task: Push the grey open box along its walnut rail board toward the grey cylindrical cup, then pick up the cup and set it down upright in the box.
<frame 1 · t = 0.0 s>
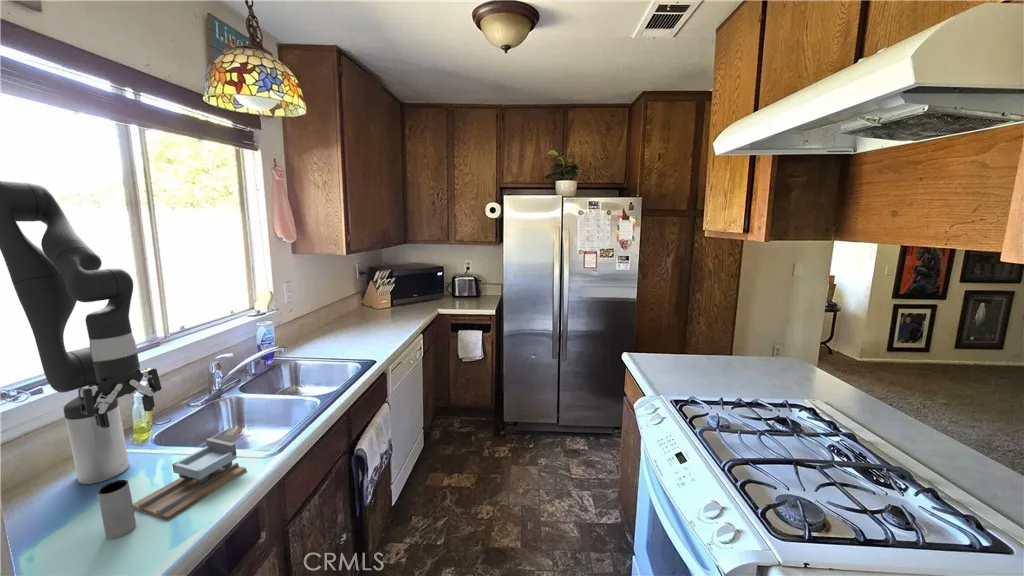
hand: (127, 418, 94), 17 cm above the countertop, tool pointing down, fingers open, 8 cm apart
grey open box: (205, 461, 98), point 5 cm above the countertop, slide at 3.5 cm
grey cylindrical cup: (121, 531, 82), on the countertop
rail board: (193, 488, 95), on the countertop
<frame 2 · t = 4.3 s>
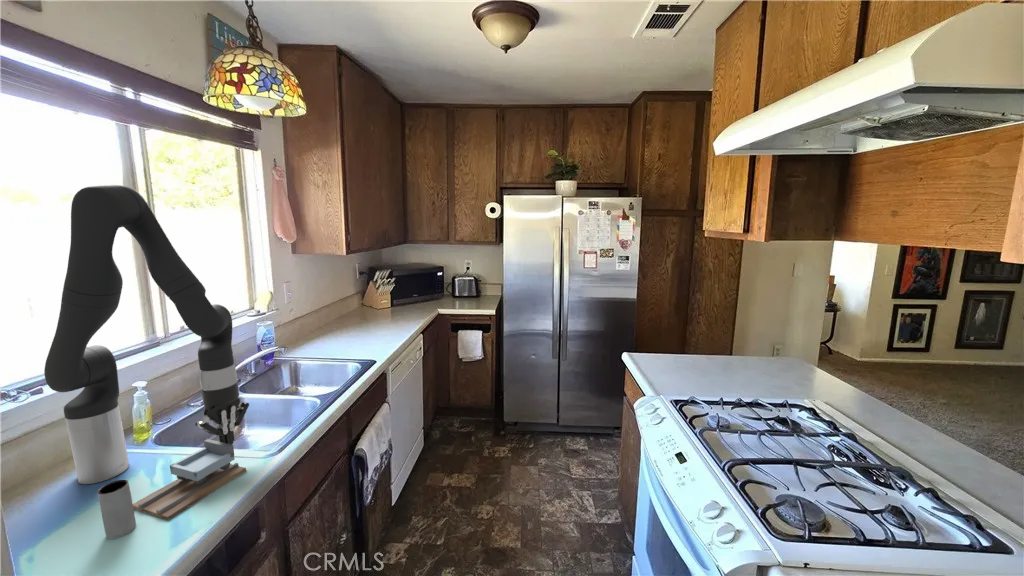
hand: (227, 444, 103), 6 cm above the countertop, tool pointing down, fingers closed
grey open box: (203, 462, 97), point 5 cm above the countertop, slide at 3.0 cm, touching gripper
everything else where it was.
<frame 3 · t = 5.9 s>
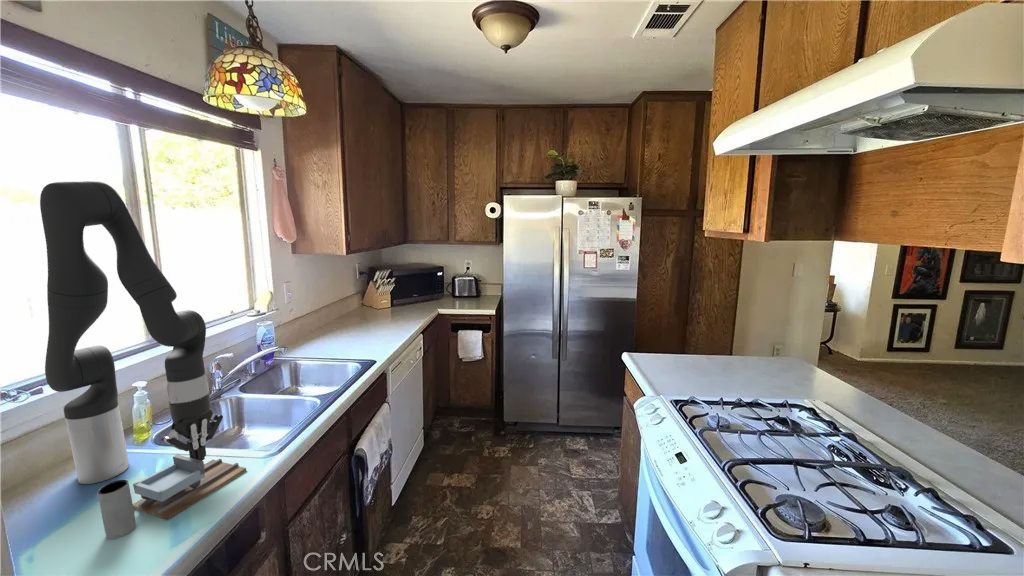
hand: (198, 460, 96), 6 cm above the countertop, tool pointing down, fingers closed
grey open box: (170, 480, 91), point 5 cm above the countertop, slide at -4.3 cm, touching gripper
everything else where it was.
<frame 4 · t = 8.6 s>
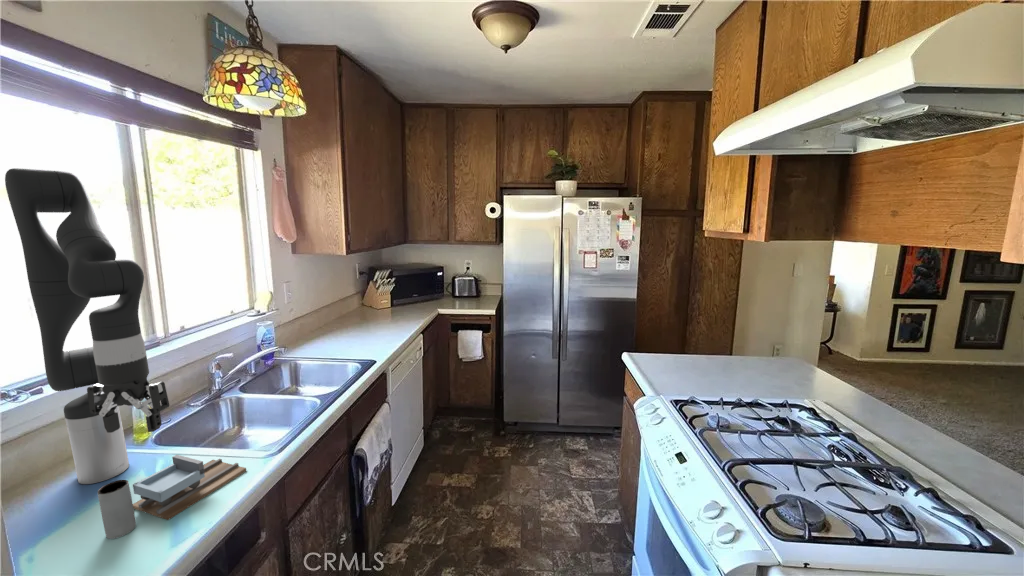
hand: (134, 430, 83), 20 cm above the countertop, tool pointing down, fingers open, 8 cm apart
grey open box: (170, 480, 90), point 5 cm above the countertop, slide at -4.4 cm
everything else where it was.
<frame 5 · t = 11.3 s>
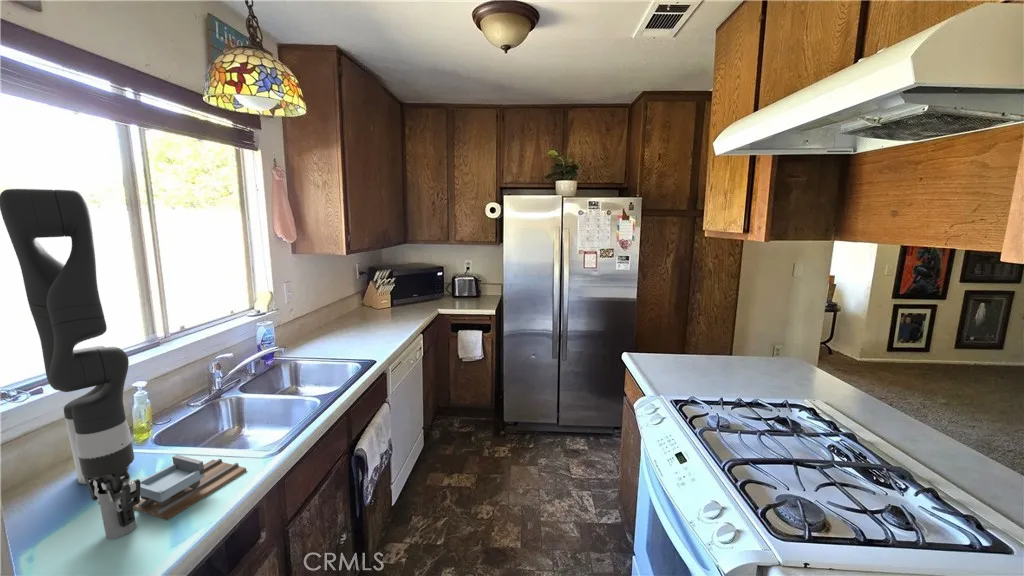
hand: (119, 520, 82), 2 cm above the countertop, tool pointing down, fingers closed on grey cylindrical cup, 4 cm apart
grey cylindrical cup: (121, 531, 82), on the countertop, touching gripper
everything else where it was.
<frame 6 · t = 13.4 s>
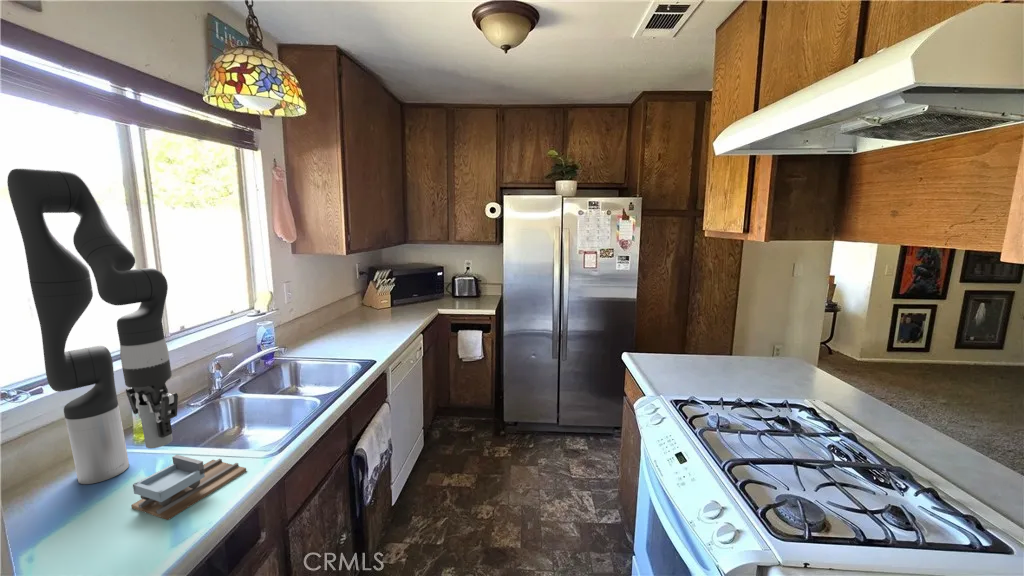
hand: (158, 433, 88), 17 cm above the countertop, tool pointing down, fingers closed on grey cylindrical cup, 4 cm apart
grey cylindrical cup: (159, 443, 88), point 15 cm above the countertop, touching gripper
everything else where it was.
when the fingers open (8 cm above the countertop, at t = 15.6 s): grey cylindrical cup drops 1 cm, resting on grey open box.
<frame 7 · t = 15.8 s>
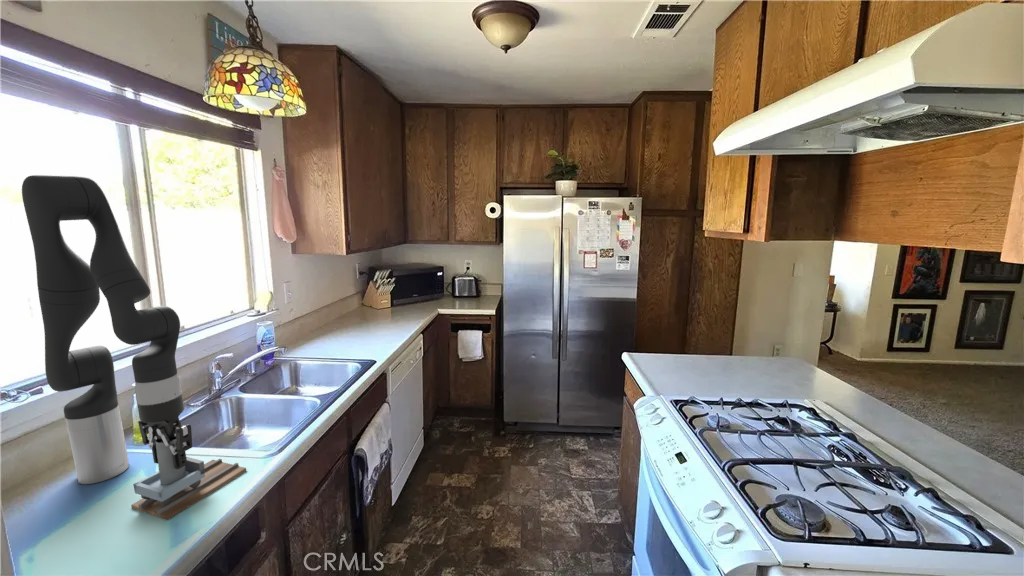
hand: (170, 463, 90), 9 cm above the countertop, tool pointing down, fingers open, 6 cm apart
grey open box: (170, 480, 91), point 5 cm above the countertop, slide at -4.2 cm, touching grey cylindrical cup
grey cylindrical cup: (173, 479, 91), point 5 cm above the countertop, touching grey open box
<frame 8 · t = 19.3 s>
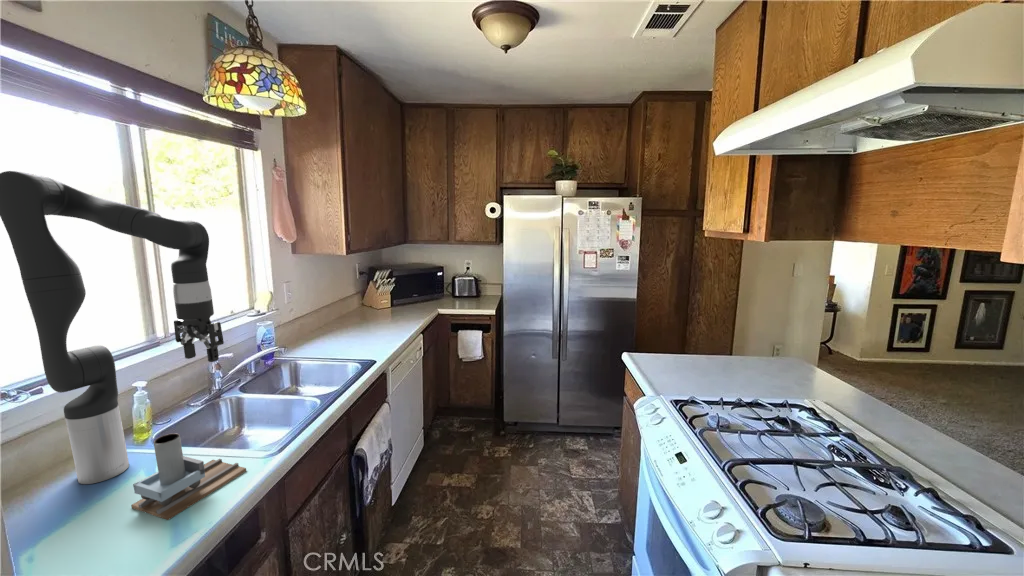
hand: (202, 359, 103), 28 cm above the countertop, tool pointing down, fingers open, 8 cm apart
nothing on the countertop moved.
at the end: grey cylindrical cup 0.2 cm from the target spot, point 4.7 cm above the countertop; grey open box slide at -4.3 cm; grey cylindrical cup tilted 0° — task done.
